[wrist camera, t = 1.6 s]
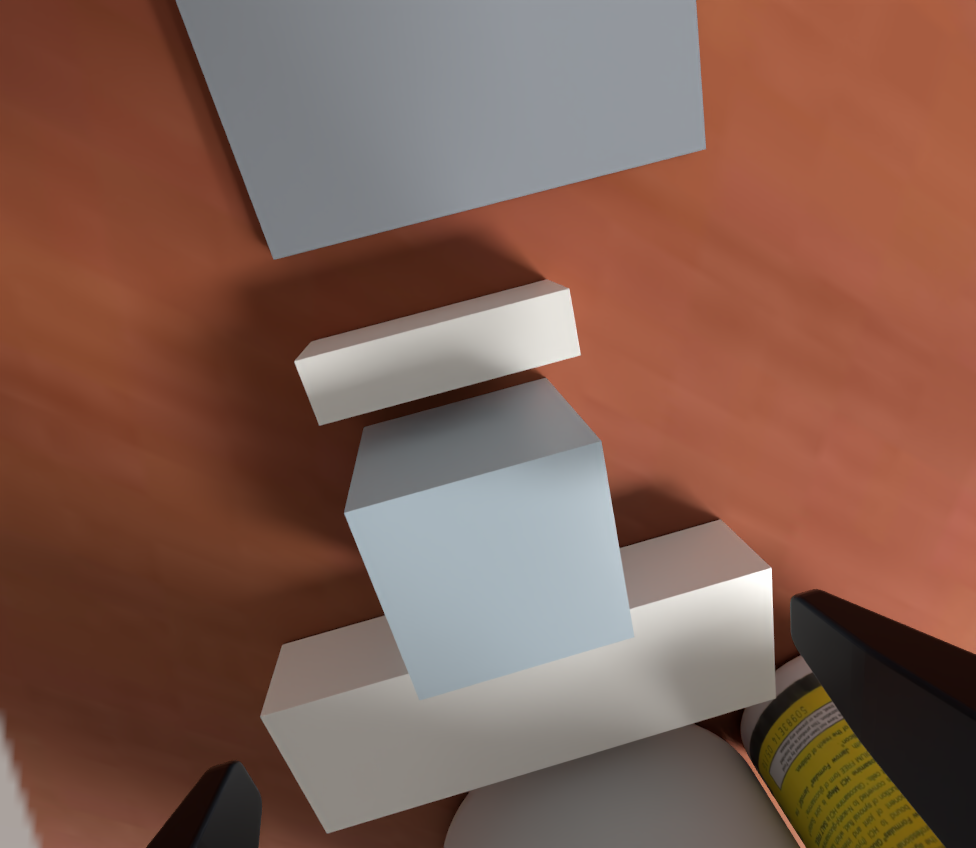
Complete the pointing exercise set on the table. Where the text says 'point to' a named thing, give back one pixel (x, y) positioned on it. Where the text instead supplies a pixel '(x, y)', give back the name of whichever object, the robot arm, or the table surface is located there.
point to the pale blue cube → (489, 536)
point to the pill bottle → (826, 770)
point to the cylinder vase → (628, 801)
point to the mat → (439, 102)
